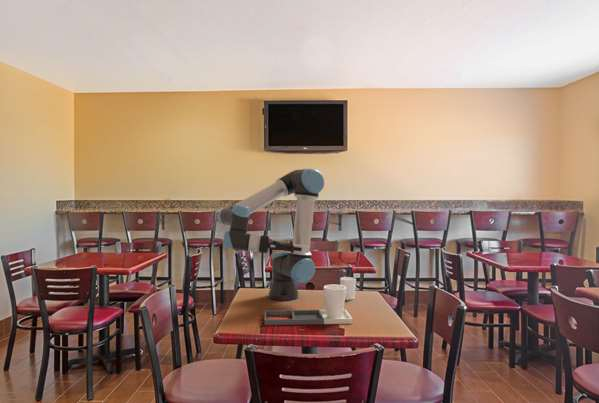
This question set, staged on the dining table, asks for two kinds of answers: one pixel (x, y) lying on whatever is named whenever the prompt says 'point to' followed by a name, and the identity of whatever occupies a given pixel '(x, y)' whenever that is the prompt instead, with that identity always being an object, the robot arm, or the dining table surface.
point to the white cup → (349, 287)
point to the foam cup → (334, 300)
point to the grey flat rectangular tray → (306, 317)
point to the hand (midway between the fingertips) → (308, 249)
